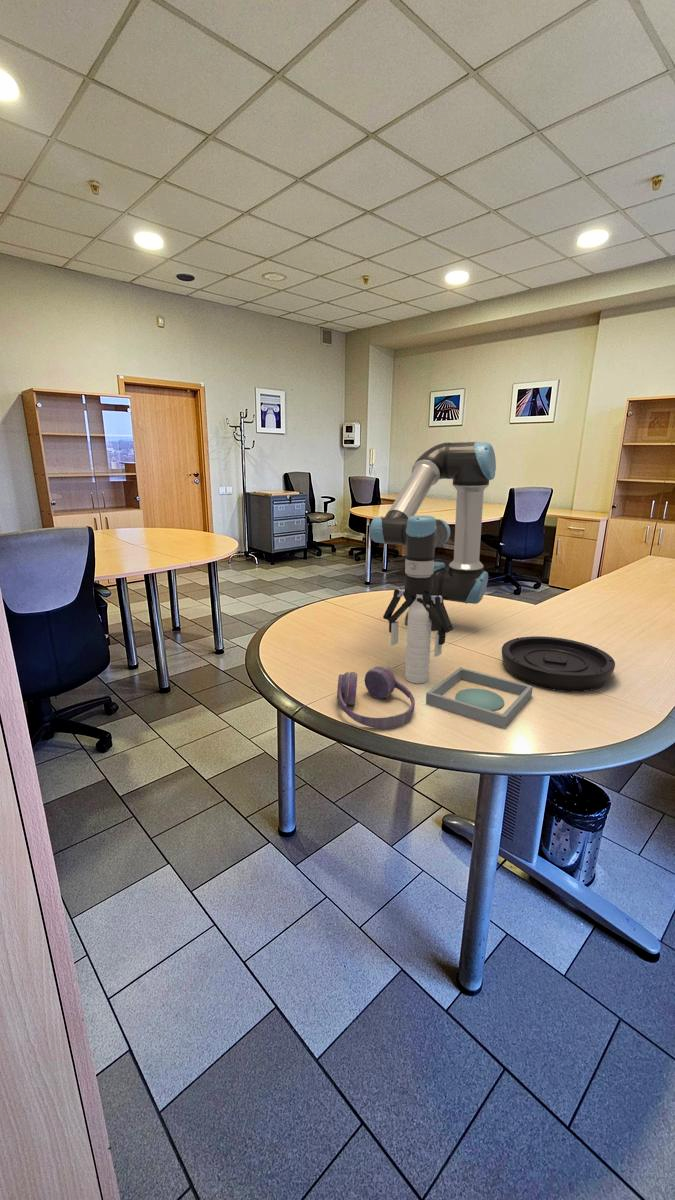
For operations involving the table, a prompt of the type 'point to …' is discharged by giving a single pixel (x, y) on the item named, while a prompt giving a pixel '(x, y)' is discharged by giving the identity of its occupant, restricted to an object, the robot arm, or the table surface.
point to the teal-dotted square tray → (476, 712)
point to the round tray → (557, 663)
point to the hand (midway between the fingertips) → (415, 649)
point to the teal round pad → (481, 698)
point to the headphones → (379, 686)
